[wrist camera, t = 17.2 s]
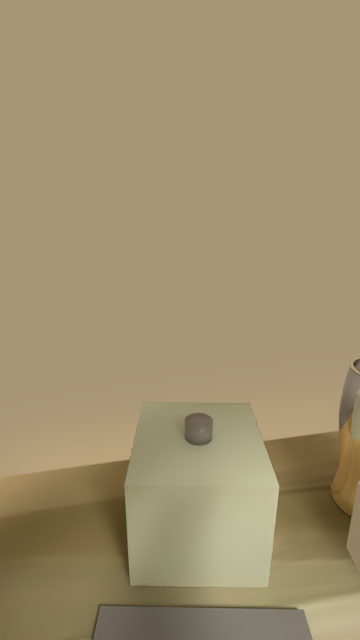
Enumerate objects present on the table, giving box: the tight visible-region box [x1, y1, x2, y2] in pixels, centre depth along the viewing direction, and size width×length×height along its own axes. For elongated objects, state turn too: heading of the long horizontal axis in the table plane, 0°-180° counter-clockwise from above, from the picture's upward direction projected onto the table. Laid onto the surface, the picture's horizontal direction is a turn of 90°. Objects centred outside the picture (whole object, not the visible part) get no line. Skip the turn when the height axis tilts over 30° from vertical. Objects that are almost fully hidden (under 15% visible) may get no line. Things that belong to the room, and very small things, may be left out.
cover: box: [124, 402, 279, 588], centre depth 30 cm, size 11×11×12 cm
